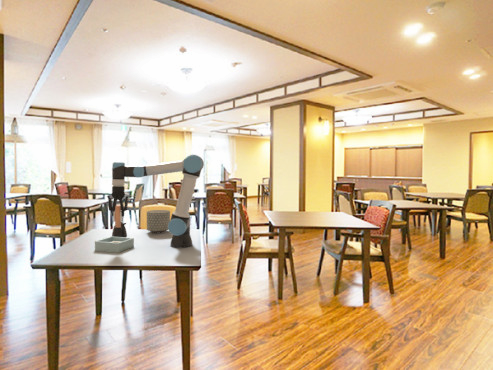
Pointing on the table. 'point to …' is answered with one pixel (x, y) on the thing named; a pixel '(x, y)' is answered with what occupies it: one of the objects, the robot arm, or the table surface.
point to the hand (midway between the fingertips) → (118, 221)
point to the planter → (158, 220)
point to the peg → (117, 216)
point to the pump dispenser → (119, 231)
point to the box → (114, 244)
